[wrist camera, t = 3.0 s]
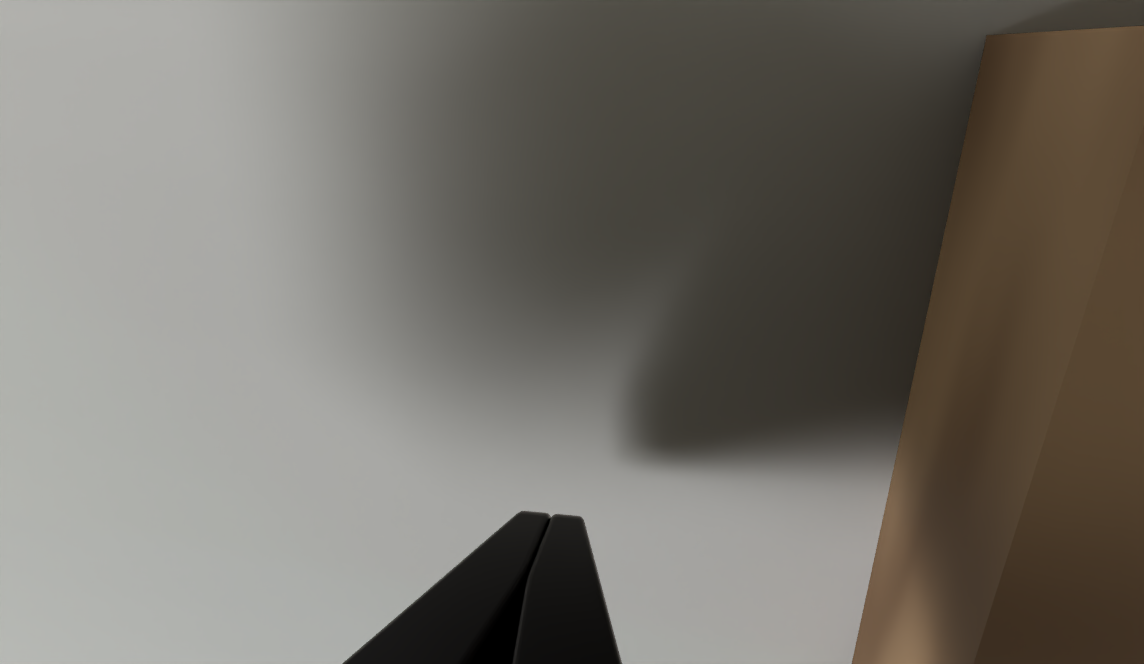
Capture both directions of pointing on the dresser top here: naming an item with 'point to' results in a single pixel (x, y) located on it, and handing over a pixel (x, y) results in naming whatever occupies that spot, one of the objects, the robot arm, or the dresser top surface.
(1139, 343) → the t block
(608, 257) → the dresser top surface
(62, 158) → the dresser top surface
